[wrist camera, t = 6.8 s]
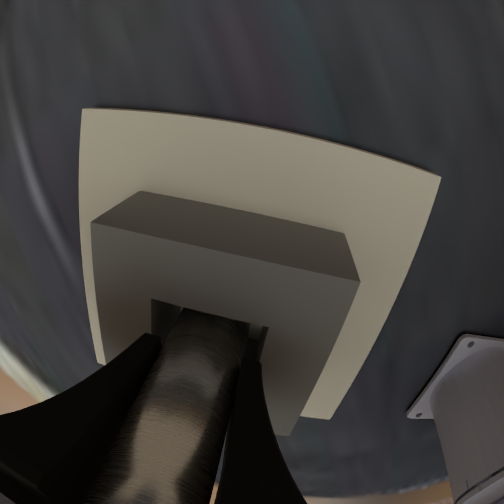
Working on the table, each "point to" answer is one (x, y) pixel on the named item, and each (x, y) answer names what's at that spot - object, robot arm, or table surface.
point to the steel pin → (177, 417)
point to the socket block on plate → (247, 243)
